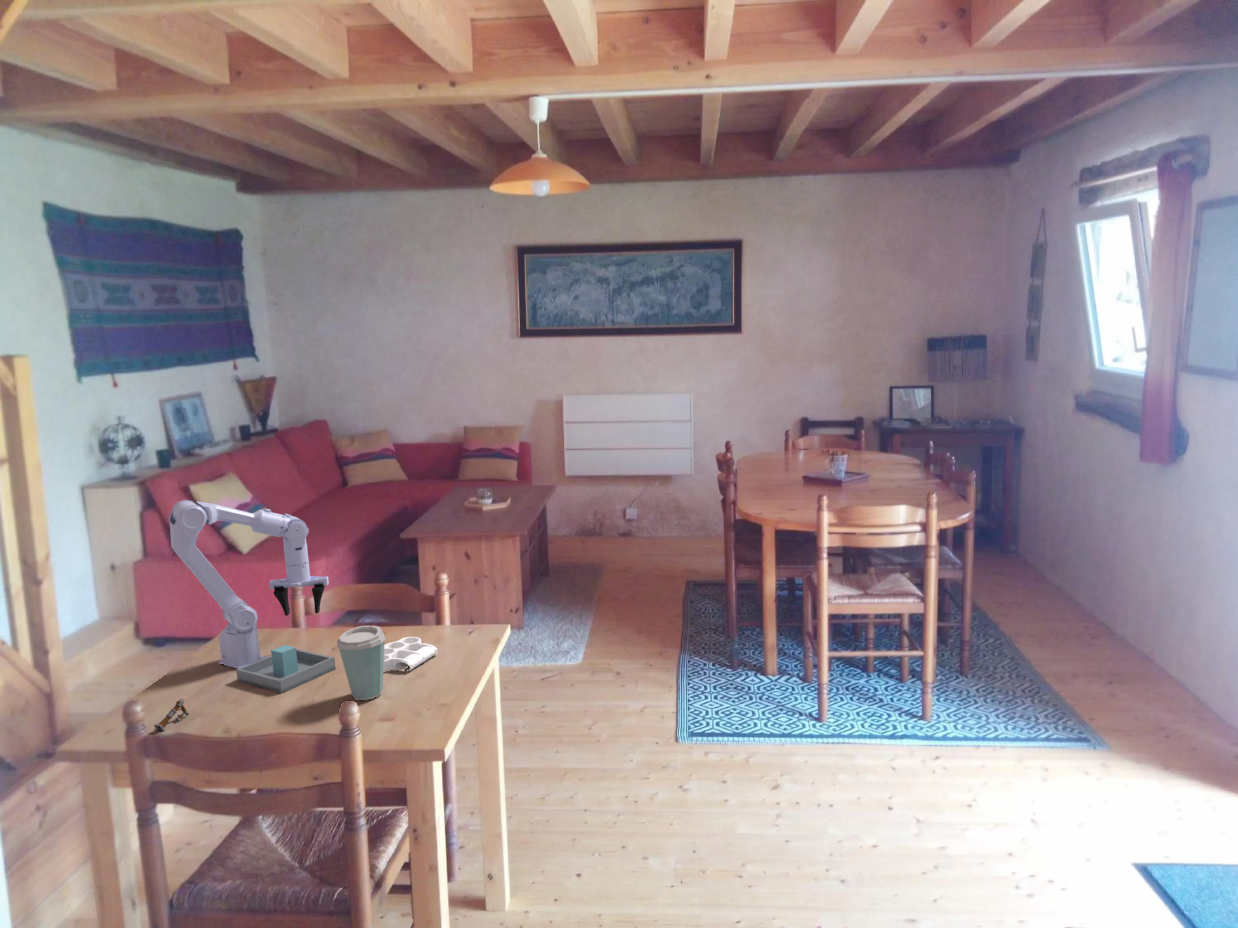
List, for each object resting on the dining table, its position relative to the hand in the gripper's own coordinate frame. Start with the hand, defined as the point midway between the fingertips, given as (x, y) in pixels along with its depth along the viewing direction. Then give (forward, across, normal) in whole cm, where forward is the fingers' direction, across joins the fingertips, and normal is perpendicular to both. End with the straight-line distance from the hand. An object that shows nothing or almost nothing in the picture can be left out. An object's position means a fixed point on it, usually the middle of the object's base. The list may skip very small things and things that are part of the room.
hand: (302, 613), depth 241 cm
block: (+9, 0, -19) cm, 21 cm away
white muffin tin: (+10, +26, -15) cm, 32 cm away
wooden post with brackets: (+10, -18, -42) cm, 47 cm away
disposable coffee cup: (+10, +21, -35) cm, 42 cm away
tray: (+9, 0, -19) cm, 21 cm away
